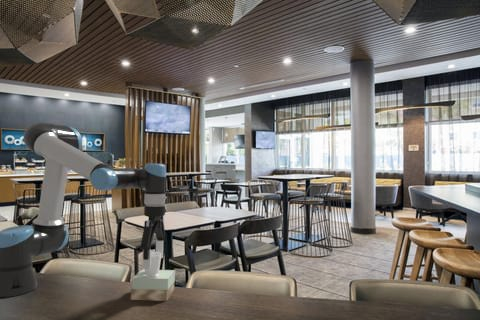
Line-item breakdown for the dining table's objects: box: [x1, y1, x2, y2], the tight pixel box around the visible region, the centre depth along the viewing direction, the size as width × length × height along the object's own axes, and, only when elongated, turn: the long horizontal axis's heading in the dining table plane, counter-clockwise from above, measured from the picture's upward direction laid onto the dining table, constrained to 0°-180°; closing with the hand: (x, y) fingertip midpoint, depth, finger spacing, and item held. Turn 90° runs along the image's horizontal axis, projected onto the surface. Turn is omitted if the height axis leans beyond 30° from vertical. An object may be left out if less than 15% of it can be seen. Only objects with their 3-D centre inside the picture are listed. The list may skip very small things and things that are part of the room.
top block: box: [131, 268, 176, 290], centre depth 122 cm, size 13×10×4 cm
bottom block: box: [130, 282, 175, 302], centre depth 121 cm, size 13×10×4 cm
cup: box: [144, 251, 162, 278], centre depth 120 cm, size 7×10×8 cm
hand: (153, 262), depth 121 cm, fingers open, 13 cm apart
